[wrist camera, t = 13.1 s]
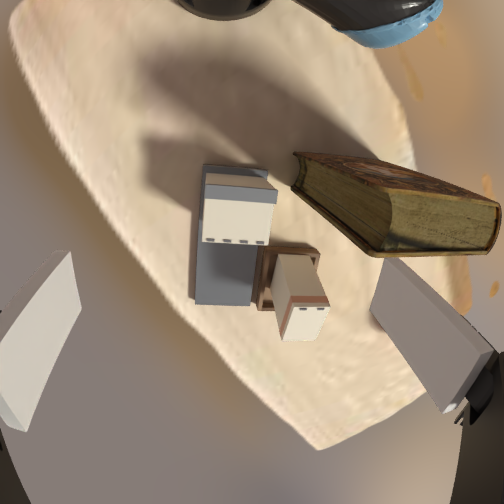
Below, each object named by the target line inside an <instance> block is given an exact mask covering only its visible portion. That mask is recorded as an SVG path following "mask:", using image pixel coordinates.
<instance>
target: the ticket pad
mask: <svg viewBox="0 0 504 504" xmlns="http://www.w3.org/2000/svg"><path fill="white" fill-rule="evenodd" d="M277 195H278V190H277V189H275V188H274V187H273V186H272V185H271V184H270V183H269V182H268V181H267V180H266V179H265V178H263V177H253V176H242V175H230V174H217V173H206V182H205V195H204V207H203V222H202V242H215V243H233V244H251V245H268V242H269V236H270V229H271V222H272V215H273V208H274V204H276V202H277Z"/></svg>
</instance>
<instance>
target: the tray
mask: <svg viewBox="0 0 504 504" xmlns="http://www.w3.org/2000/svg"><path fill="white" fill-rule="evenodd" d="M278 254H291V255H310V258H311V260H312V263H313V265H314V267H315V270H316V272H317V267H318V263H319V258H320V253H319V252H318V251H317V249H311V248H294V247H277V246H264V251H263V258H262V265H261V272H260V279H259V286H258V293H257V299H256V306H257V310H258V311H275V309H274V304H273V300H272V295H271V291H270V286H271V282H272V278H273V274H274V270H275V265H276V261H277V257H278Z"/></svg>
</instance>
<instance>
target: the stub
mask: <svg viewBox="0 0 504 504" xmlns="http://www.w3.org/2000/svg"><path fill="white" fill-rule="evenodd" d="M270 291H271V295H272V300H273V304H274V309H275V313H276V317H277V322H278V326H279V332H280V336H281V340H282V342H284V341H315V340H316V338H317V336H318V334H319V331H320V329H321V327H322V325H323V323H324V320H325V318H326V316H327V314H328V311H329V309H330V304H329V301H328V299H327V296H326V294H325V292H324V289H323V287H322V284H321V282H320V279H319V277H318V275H317V272H316V270H315V267H314V265H313V263H312V260H311V258H310V255H291V254H278V257H277V261H276V265H275V270H274V274H273V278H272V282H271V286H270Z"/></svg>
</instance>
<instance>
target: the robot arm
mask: <svg viewBox="0 0 504 504" xmlns="http://www.w3.org/2000/svg"><path fill="white" fill-rule="evenodd" d="M270 1H271V0H178V2H179V3H180V4H181V5H182V6H183V7H184V8H185V9H186V10H188V11H189V12H191V13H193V14H195V15H197V16H199V17H202V18H206V19H210V20H217V21H231V20H238V19H242V18H246V17H249V16H251V15H253V14H255V13H257V12H259V11H260V10H262V9H263V8H264V7H266V6H267V5H268V4H269V3H270ZM292 1H294V2H296V3H297V4H299V5H301V6H302V7H304V8H306V9H307V10H309V11H311V12H312V13H314V14H315V15H317V16H318V17H320V18H322V19H323V20H325V21H326V22H328V23H329V24H331V27H332V28H333V29H335V30H336V31H338V32H341V33H343V34H345V35H347V36H348V37H350V38H351V39H353V40H354V41H355V42H357V43H358V44H360V45H362V46H364V47H369V48H373V49H382V48H388V47H392V46H395V45H398V44H400V43H403V42H405V41H407V40H409V39H411V38H412V37H414V36H416V35H418V34H419V33H420V32H422V31H423V30H425V29H426V28H427V27H428V23H430V22H432V21H435V20H436V18H437V17H438V16H439V15H440V13H441V11H442V8H443V0H292ZM81 309H82V308H81V304H80V299H79V295H78V290H77V285H76V280H75V275H74V269H73V264H72V258H71V252H70V251H54V252H53V253H52V254H51V255H50V256H49V257H48V258H47V260H45V262H44V263H43V264H42V265H41V266H40V267H39V268H38V269H37V270H36V271H35V273H34V274H33V275H32V276H31V277H30V278H29V279H28V280H27V282H26V283H25V284H24V285H23V286H22V287H21V289H20V290H19V291H18V292H17V293H16V295H15V296H14V297H13V298H12V300H11V301H10V302H9V303H8V304H7V306H6V307H5V308H4V309H3V311H1V310H0V416H1V417H2V419H3V420H4V422H5V423H6V424H7V426H9V427H12V428H15V429H18V430H21V431H24V432H27V430H28V427H29V424H30V422H31V419H32V416H33V413H34V411H35V408H36V406H37V403H38V401H39V398H40V396H41V394H42V391H43V388H44V386H45V384H46V382H47V379H48V377H49V375H50V373H51V370H52V368H53V366H54V364H55V361H56V359H57V357H58V355H59V353H60V351H61V349H62V347H63V345H64V342H65V340H66V338H67V336H68V334H69V332H70V330H71V328H72V326H73V324H74V323H75V320H76V319H77V317H78V315H79V313H80V311H81ZM369 310H370V311H371V313H372V314H373V315H374V317H375V318H376V319H377V321H378V322H379V323H380V325H381V326H382V328H383V329H384V330H385V332H386V333H387V334H388V336H389V337H390V339H391V340H392V341H393V343H394V344H395V346H396V347H397V348H398V350H399V351H400V353H401V354H402V355H403V357H404V358H405V360H406V361H407V363H408V364H409V365H410V367H411V368H412V370H413V371H414V373H415V374H416V376H417V377H418V378H419V380H420V381H421V383H422V384H423V386H424V387H425V389H426V390H427V392H428V393H429V395H430V396H431V398H432V399H433V401H434V402H435V404H436V405H437V407H438V408H439V410H440V412H441V413H442V414H443V413H446V412H449V411H451V410H453V409H456V408H457V407H458V405H459V404H460V403H461V401H462V400H463V399H464V397H466V399H467V400H468V401H469V402H468V403H467V405H466V406H465V407H464V409H463V410H462V411H461V413H460V414H459V415H458V417H457V418H456V419H455V422H454V423H455V424H457V422H458V421H459V420H460V419H461V418H463V417H464V418H463V421H462V422H461V423H460V425H462V426H463V429H462V439H461V446H460V453H459V460H458V466H457V472H456V477H455V482H454V487H453V492H452V496H451V500H450V504H504V352H501V353H500V354H499V353H498V352H497V351H496V350H495V349H494V348H493V347H492V345H491V344H490V343H489V342H488V341H487V340H486V339H485V338H484V337H483V336H482V335H481V334H480V333H479V332H477V330H476V329H475V328H474V327H473V326H471V324H470V323H469V322H468V321H467V320H466V319H465V318H464V317H463V316H462V315H460V314H459V313H458V312H457V311H456V310H455V309H454V308H453V307H452V306H451V305H450V304H449V303H448V302H447V301H445V300H444V299H443V298H442V297H441V296H440V295H439V294H438V293H437V292H436V291H435V290H434V289H433V288H432V287H431V286H429V285H428V284H427V283H426V282H425V281H424V280H423V279H422V278H421V277H420V276H418V275H417V274H416V273H415V272H414V271H413V270H412V269H411V268H410V267H408V266H407V265H406V264H405V263H404V262H403V261H402V260H400V259H399V258H392V257H385V258H384V262H383V266H382V269H381V273H380V276H379V280H378V283H377V287H376V290H375V293H374V297H373V300H372V303H371V306H370V309H369ZM0 504H31V502H30V500H29V499H28V496H27V494H26V492H25V490H24V488H23V486H22V484H21V482H20V479H19V477H18V475H17V472H16V470H15V468H14V465H13V463H12V460H11V457H10V455H9V452H8V449H7V447H6V444H5V441H4V438H3V436H2V432H1V429H0Z"/></svg>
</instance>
